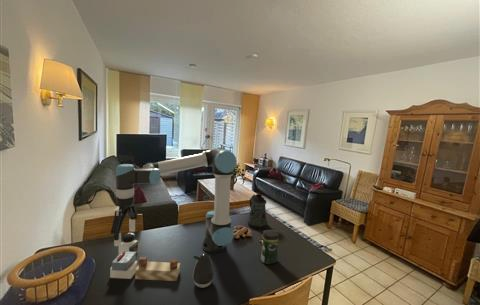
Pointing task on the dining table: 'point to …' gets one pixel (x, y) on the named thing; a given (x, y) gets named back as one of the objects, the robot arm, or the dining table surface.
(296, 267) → the dining table surface
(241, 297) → the dining table surface
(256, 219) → the beer stein
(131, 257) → the lever cap
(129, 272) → the block
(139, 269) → the cream wooden plank
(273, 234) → the coffee jar
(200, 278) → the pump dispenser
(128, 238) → the medicine bottle
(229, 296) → the dining table surface
